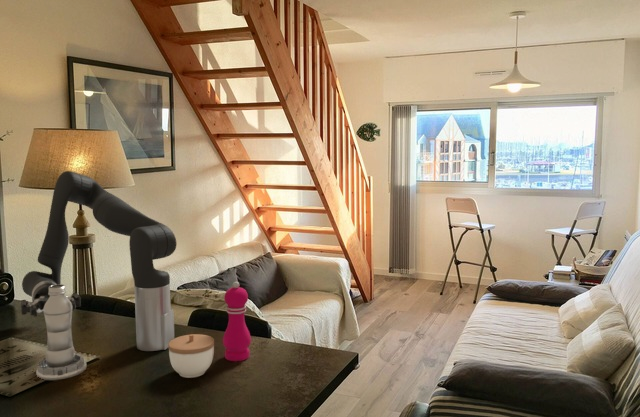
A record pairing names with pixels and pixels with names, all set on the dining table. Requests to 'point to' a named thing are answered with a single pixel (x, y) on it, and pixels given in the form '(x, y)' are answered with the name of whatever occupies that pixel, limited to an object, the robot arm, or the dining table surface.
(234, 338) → the pepper mill
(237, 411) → the dining table surface
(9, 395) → the dining table surface
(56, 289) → the plastic bottle
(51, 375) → the tray
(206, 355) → the lidded jar
